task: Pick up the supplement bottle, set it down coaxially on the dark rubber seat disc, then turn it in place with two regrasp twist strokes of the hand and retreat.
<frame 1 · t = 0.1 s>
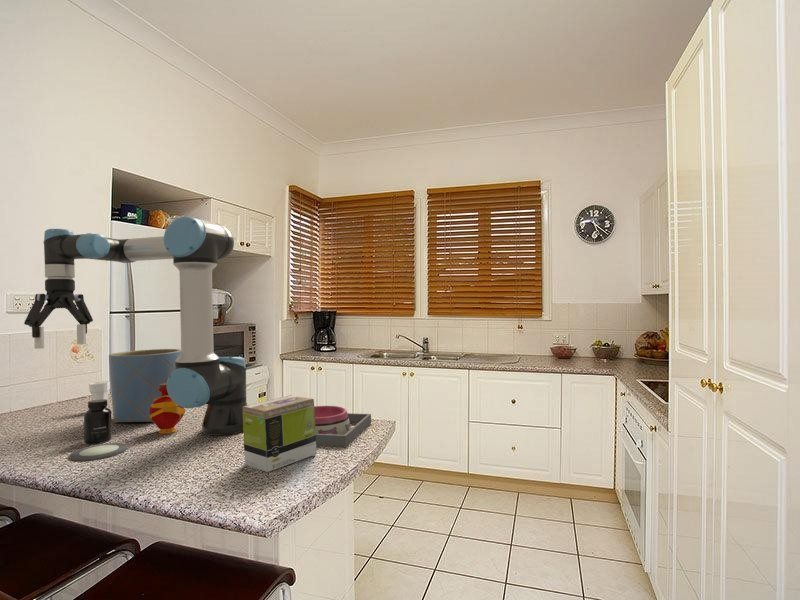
hand: (61, 346, 141), 28 cm above the countertop, fingers open, 13 cm apart
bowl mat frame: (321, 432, 136), on the countertop
dog bowl: (321, 434, 136), resting in bowl mat frame
tea box: (281, 460, 112), on the countertop
cup: (100, 411, 173), on the countertop
seat: (99, 452, 122), on the countertop
potion bottle: (167, 431, 142), on the countertop
supplement bottle: (98, 441, 133), on the countertop
planter: (147, 417, 161), on the countertop
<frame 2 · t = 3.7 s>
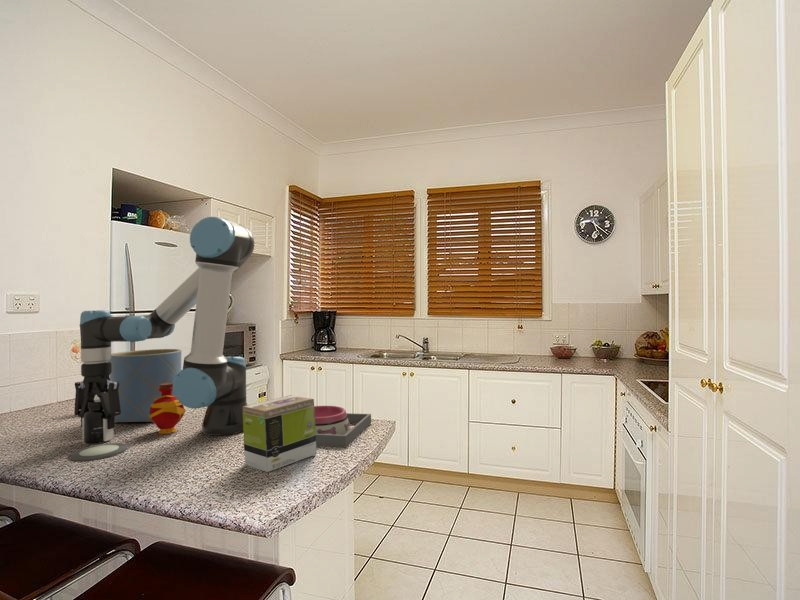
hand: (98, 439, 133), 1 cm above the countertop, fingers closed on supplement bottle, 7 cm apart
supplement bottle: (98, 441, 133), on the countertop, touching gripper
everything else where it was.
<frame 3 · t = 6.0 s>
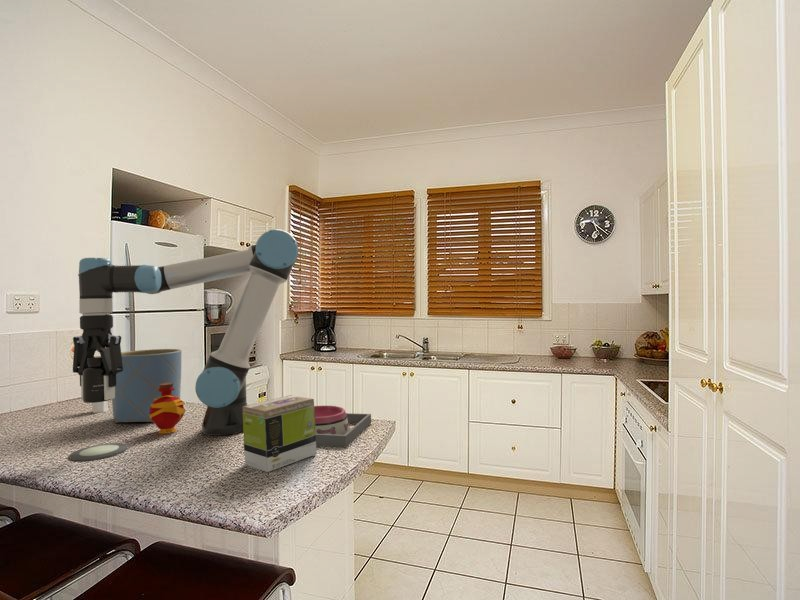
hand: (98, 398, 122), 15 cm above the countertop, fingers closed on supplement bottle, 7 cm apart
supplement bottle: (98, 401, 122), point 14 cm above the countertop, touching gripper
everything else where it was.
when the fingers open (3 cm above the countertop, at t = 8.5 s): supplement bottle drops 1 cm, resting on seat.
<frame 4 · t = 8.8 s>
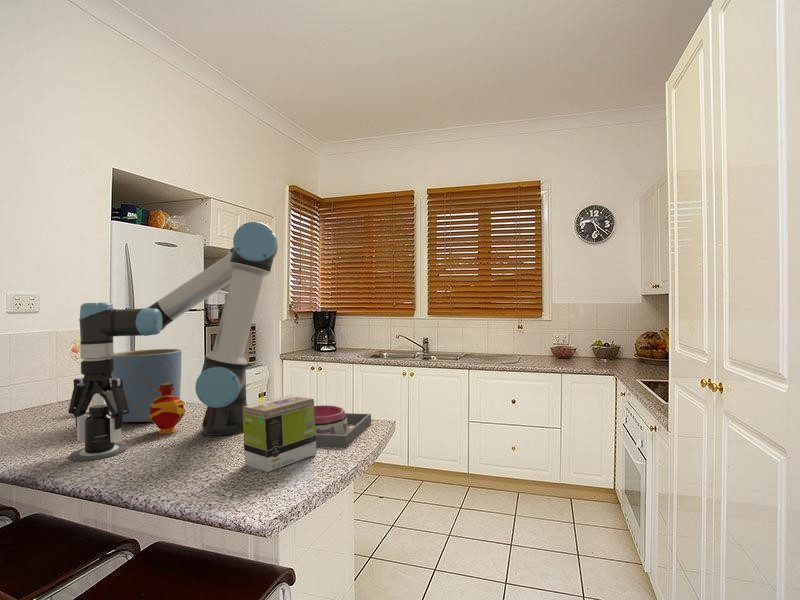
hand: (99, 440, 122), 3 cm above the countertop, fingers open, 10 cm apart
supplement bottle: (100, 450, 122), point 1 cm above the countertop, touching seat
everything else where it was.
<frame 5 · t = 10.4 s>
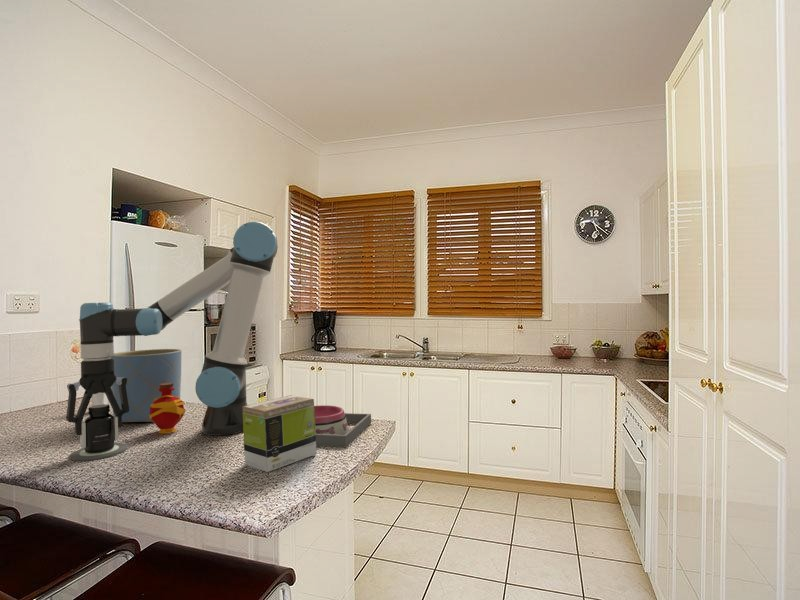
hand: (99, 442, 122), 3 cm above the countertop, fingers closed on supplement bottle, 7 cm apart
supplement bottle: (100, 450, 122), point 1 cm above the countertop, touching gripper, seat
when the fingers open (3 cm above the countertop, at t = 11.3 s): supplement bottle stays where it is, resting on seat.
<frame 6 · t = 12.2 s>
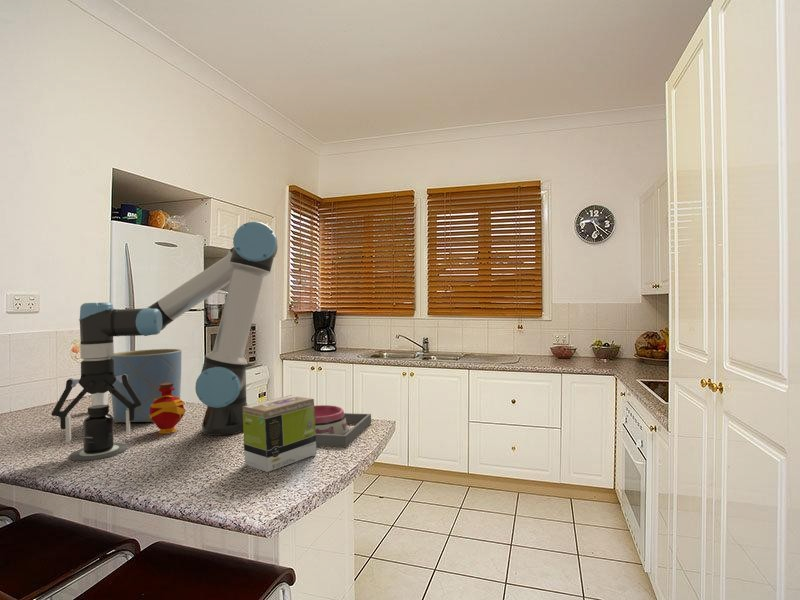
hand: (99, 436, 122), 4 cm above the countertop, fingers open, 13 cm apart
supplement bottle: (98, 451, 122), resting on seat
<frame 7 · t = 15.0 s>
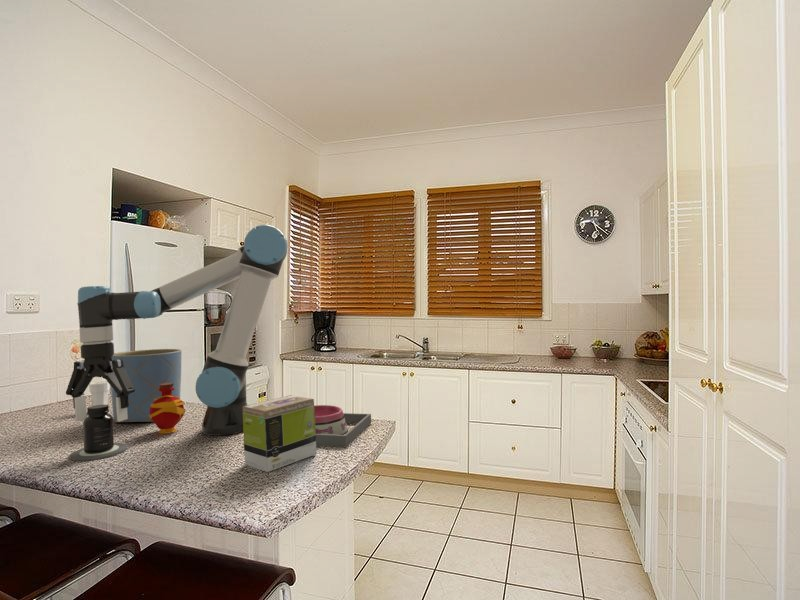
hand: (101, 420, 122), 9 cm above the countertop, fingers open, 13 cm apart
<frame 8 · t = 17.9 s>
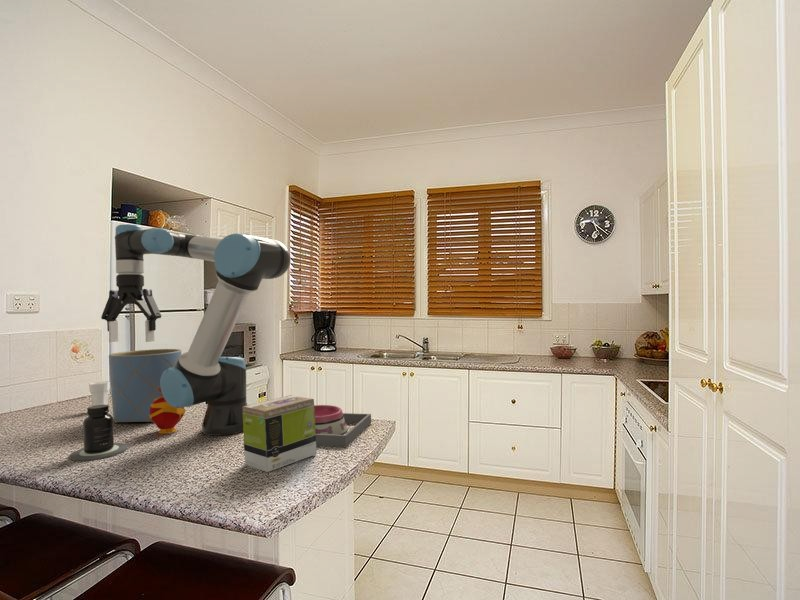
hand: (131, 341, 141), 29 cm above the countertop, fingers open, 13 cm apart
at the end: supplement bottle 0.2 cm from the seat (horizontally); supplement bottle tilted 0°; the gripper is holding nothing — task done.
